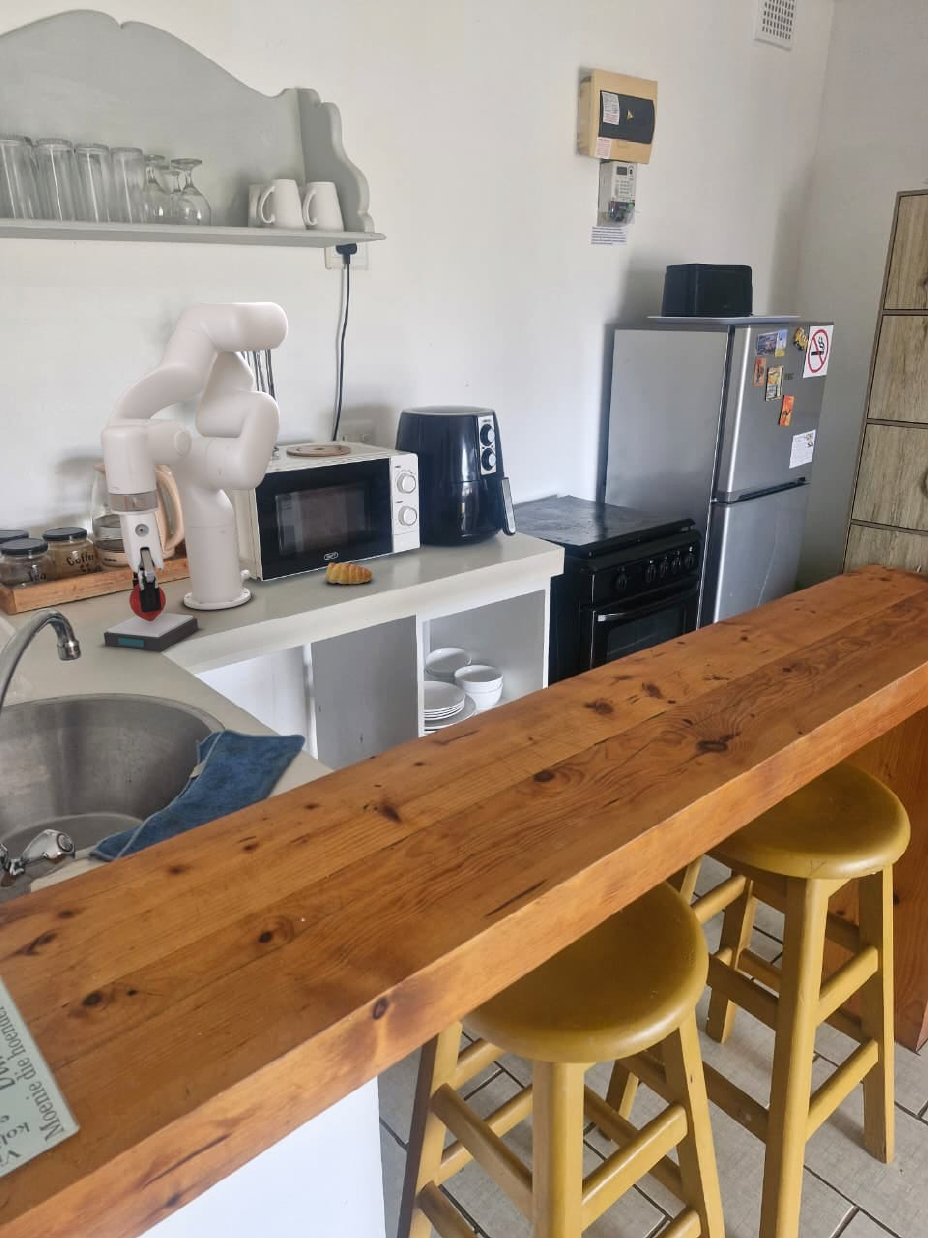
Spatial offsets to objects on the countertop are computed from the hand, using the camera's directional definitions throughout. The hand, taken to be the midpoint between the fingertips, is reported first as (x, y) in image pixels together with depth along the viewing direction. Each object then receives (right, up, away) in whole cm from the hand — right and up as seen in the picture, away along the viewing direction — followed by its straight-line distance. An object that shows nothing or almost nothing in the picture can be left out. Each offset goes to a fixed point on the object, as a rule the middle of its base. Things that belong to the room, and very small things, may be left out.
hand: (148, 604), depth 149 cm
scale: (0, -6, +2) cm, 6 cm away
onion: (0, -3, +1) cm, 3 cm away
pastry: (+29, +5, +34) cm, 45 cm away
